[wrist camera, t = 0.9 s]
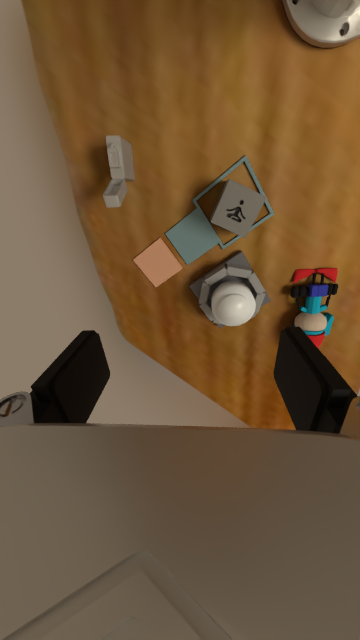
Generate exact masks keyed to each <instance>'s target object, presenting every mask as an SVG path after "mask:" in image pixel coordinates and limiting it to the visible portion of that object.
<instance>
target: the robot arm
mask: <svg viewBox="0 0 360 640" xmlns="http://www.w3.org/2000/svg"><path fill="white" fill-rule="evenodd" d="M282 1H283V5H284V8H285V12H286V15H287V18H288V20H289V22H290V23H291V25H292V27H293V29H294V30H295V31H296V33H297V34H298V35H299V36H300V37H301V38H302V39H303V40H305V41H306V42H308V43H309V44H311V45H314V46H318V47H321V48H334V47H338V46H341V45H345V44H348V43H350V42H352V41H354V40H356V39H358V38H360V0H282ZM292 1H295V2H296V5H294V4H293V3H292ZM339 32H341V33H342V36H341V35H340V34H339ZM109 377H110V370H109V367H108V364H107V360H106V357H105V353H104V350H103V347H102V343H101V340H100V336H99V334H97V333H96V332H95V331H94V330H92V331H91V330H90V331H82V332H81V333H80V334H79V335H78V336H77V337H76V338H75V339H74V340H73V341H72V342H71V343H70V345H69V346H68V347H67V348H66V349H65V350H64V351H63V352H62V353H61V354H60V355H59V356H58V358H57V359H56V360H55V361H54V362H53V363H52V364H51V365H50V366H49V367H48V368H47V370H45V372H44V373H43V374H42V375H41V376H40V377H39V378H38V379H37V380H36V381H35V382H34V383H33V385H32V386H31V388H32V392H31V393H30V394H29V393H28V392H16V393H13V394H10V395H8V396H6V397H4V398H2V399H1V400H0V640H360V396H357V395H356V394H355V392H354V391H353V390H352V389H351V388H350V386H349V385H348V384H347V383H346V381H345V380H344V379H343V378H342V377H341V375H340V374H339V373H338V372H337V370H336V369H335V368H334V367H333V366H332V364H331V363H330V362H329V361H328V359H327V358H326V357H325V356H324V355H323V354H322V353H321V352H320V351H319V349H318V348H317V347H316V346H315V344H314V343H313V342H312V341H311V340H310V338H309V337H308V336H307V335H306V333H305V332H304V331H303V330H302V328H301V327H286V328H285V330H282V331H281V335H280V340H279V346H278V351H277V357H276V363H275V368H274V379H275V381H276V384H277V386H278V388H279V391H280V393H281V395H282V398H283V400H284V402H285V405H286V407H287V409H288V412H289V414H290V416H291V419H292V421H293V423H294V426H295V428H296V430H282V429H260V428H230V427H201V426H200V427H199V426H169V425H134V424H89V423H86V422H87V420H88V418H89V416H90V414H91V412H92V410H93V408H94V407H95V405H96V403H97V401H98V399H99V397H100V395H101V393H102V391H103V389H104V387H105V385H106V383H107V381H108V379H109Z"/></svg>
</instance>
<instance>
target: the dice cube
mask: <svg viewBox="0 0 360 640" xmlns="http://www.w3.org/2000/svg"><path fill="white" fill-rule="evenodd" d="M266 199H267V197H265V196H263V195H261V194H259V193H257V192H255V191H253V190H251V189H249V188H247V187H245V186H243V185H241V184H239V183H237V182H235V181H233V180H231V179H229V180H227V181H226V182H225V184H224V187H223V189H222V191H221V194H220V196H219V198H218V201H217V203H216V205H215V208H214V210H213V212H212V215H211V217H210V221H211V223H213V224H216V225H218V226H220V227H222V228H224V229H227V230H229V231H231V232H233V233H235V234H237V235H240V236H242V237H244V238H246V236H247V234H248V232H249V230H250V228H251V226H252V225H253V223H254V221H255V219H256V217H257V215H258V213H259V212H260V210H261V208H262V206H263V204H264V202H265V200H266Z"/></svg>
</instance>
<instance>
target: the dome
mask: <svg viewBox="0 0 360 640" xmlns="http://www.w3.org/2000/svg"><path fill="white" fill-rule="evenodd" d="M211 304H212V313H213V315H214V317H215V319H216V320H217V321H218V322H220V323H222V324H224V325H227V326H237V325H241V324H243V323H245V322H247V321H248V320H249V319H250V318H251V317H252V316H253V314H254V312H255V308H256V303H255V299H254V297H253V295H252V293H251V291H250V289H249V288H248V286H247V285H245V284H244V283H242V282H239V281H228V282H225V283H222V284H221V285H219V286H218V287H217V288H216V289H215V290H214V292H213V294H212V298H211Z"/></svg>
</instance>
